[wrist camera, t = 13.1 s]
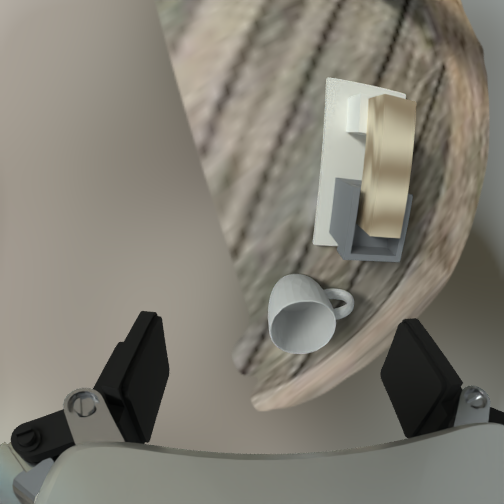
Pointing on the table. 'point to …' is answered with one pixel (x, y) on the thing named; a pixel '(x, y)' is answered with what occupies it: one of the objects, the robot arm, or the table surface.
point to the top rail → (386, 165)
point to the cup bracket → (349, 176)
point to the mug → (304, 313)
